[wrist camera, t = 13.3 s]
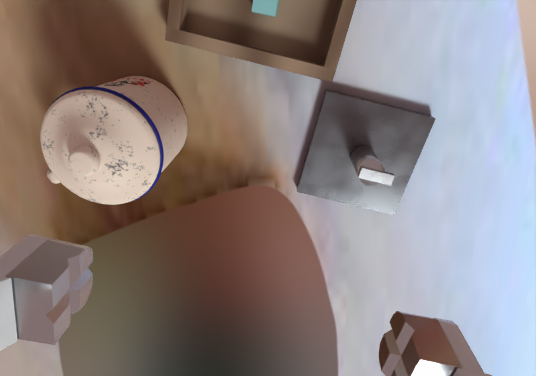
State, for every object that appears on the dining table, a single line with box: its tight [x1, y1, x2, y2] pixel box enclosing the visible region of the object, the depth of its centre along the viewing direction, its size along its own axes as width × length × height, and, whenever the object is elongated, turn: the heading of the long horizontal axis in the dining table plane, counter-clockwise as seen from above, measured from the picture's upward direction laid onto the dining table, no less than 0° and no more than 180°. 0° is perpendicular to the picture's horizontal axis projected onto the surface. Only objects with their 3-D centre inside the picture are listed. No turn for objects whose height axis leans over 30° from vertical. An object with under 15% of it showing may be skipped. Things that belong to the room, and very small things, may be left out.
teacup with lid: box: [40, 76, 188, 204], centre depth 30 cm, size 12×9×12 cm
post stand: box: [297, 90, 435, 215], centre depth 32 cm, size 10×10×6 cm
